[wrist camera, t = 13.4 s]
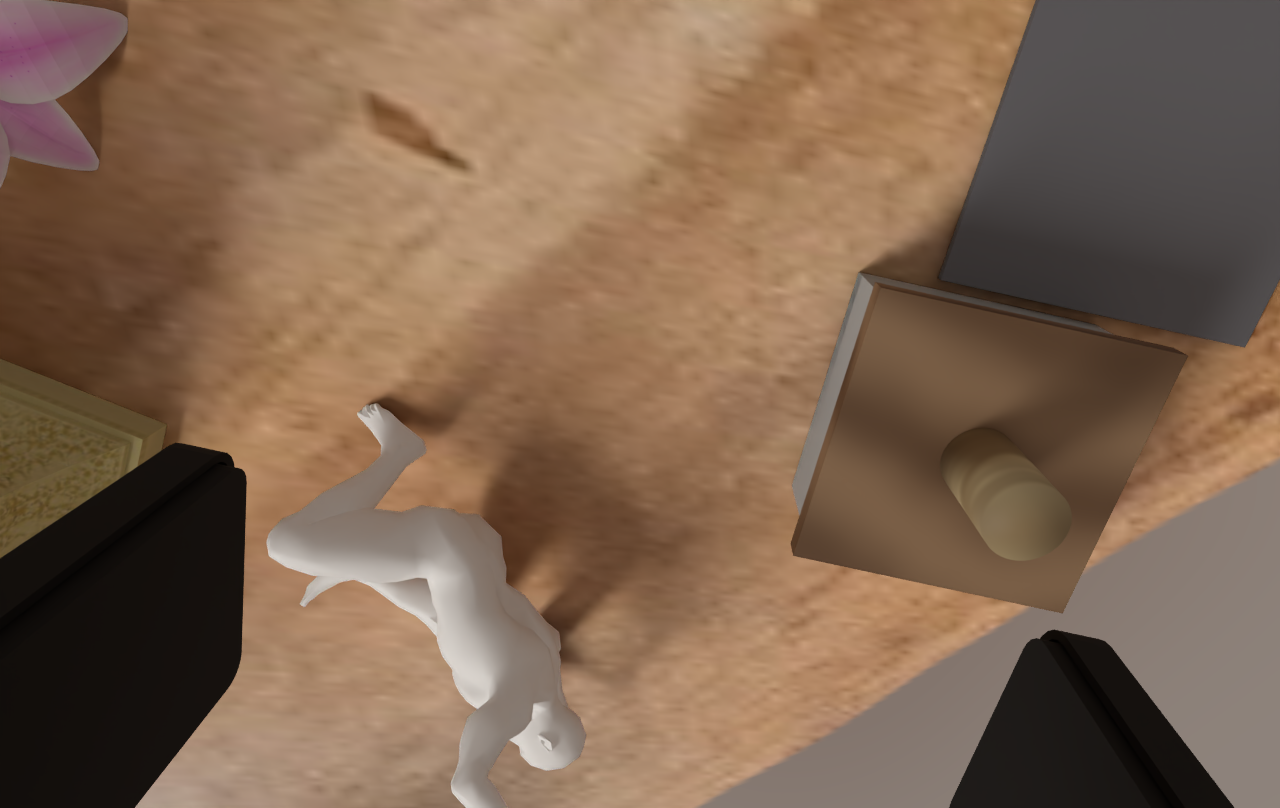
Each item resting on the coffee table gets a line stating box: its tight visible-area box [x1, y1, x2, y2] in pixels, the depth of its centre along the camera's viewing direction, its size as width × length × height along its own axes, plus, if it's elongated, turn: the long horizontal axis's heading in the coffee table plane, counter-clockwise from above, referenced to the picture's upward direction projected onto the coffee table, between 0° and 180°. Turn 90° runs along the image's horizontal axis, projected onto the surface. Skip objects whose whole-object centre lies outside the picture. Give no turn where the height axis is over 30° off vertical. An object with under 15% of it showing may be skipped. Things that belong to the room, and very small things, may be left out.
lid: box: [791, 282, 1188, 613], centre depth 30 cm, size 12×12×6 cm
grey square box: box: [792, 272, 1113, 515], centre depth 36 cm, size 11×11×5 cm
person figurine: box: [267, 403, 586, 808], centre depth 38 cm, size 13×13×18 cm
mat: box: [938, 0, 1280, 347], centre depth 33 cm, size 14×14×1 cm
